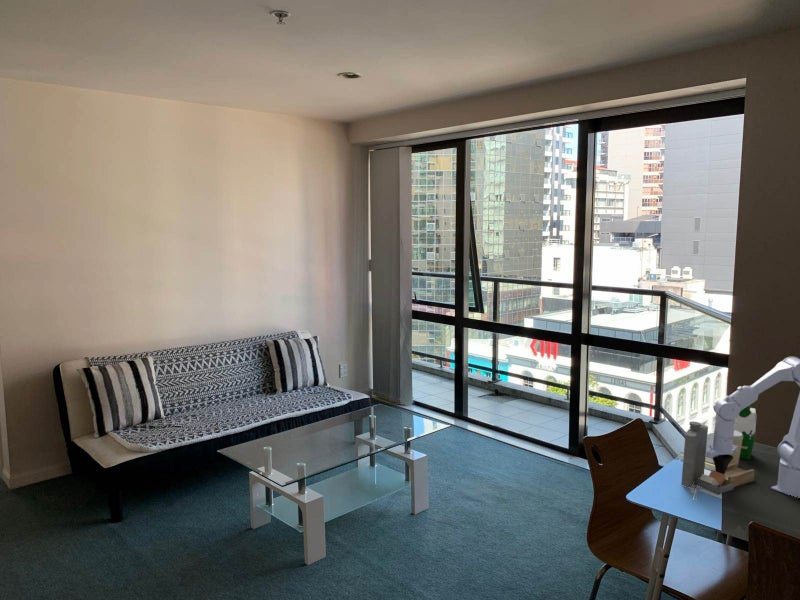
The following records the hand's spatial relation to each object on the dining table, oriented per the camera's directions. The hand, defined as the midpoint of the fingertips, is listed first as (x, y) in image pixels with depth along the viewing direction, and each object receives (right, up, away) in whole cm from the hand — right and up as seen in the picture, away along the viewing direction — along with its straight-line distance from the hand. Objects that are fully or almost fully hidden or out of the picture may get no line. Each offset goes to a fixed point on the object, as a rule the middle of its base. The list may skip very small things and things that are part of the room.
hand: (719, 475), depth 198 cm
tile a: (-1, -2, 0) cm, 2 cm away
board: (+6, -3, +4) cm, 8 cm away
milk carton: (+23, -1, +29) cm, 37 cm away
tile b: (-4, 0, -3) cm, 5 cm away
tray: (-3, -3, -2) cm, 5 cm away
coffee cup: (+12, -2, +19) cm, 23 cm away
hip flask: (-8, -3, +4) cm, 9 cm away
